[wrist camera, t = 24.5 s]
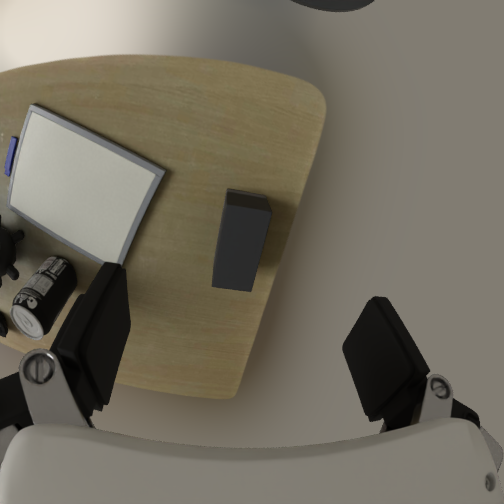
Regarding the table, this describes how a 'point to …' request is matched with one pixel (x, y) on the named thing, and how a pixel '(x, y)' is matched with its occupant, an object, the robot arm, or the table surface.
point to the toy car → (3, 326)
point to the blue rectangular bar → (10, 153)
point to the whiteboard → (80, 186)
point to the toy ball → (8, 252)
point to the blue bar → (11, 165)
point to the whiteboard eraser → (240, 240)
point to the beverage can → (43, 297)
